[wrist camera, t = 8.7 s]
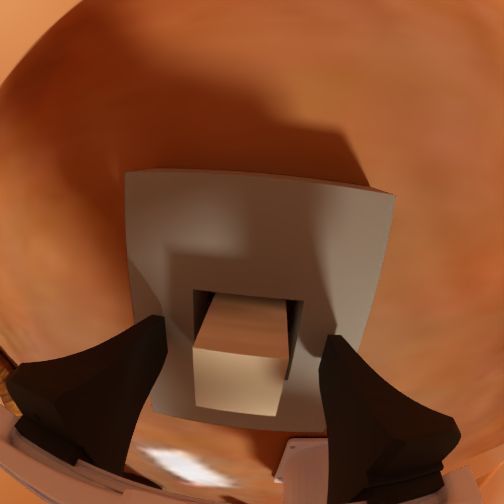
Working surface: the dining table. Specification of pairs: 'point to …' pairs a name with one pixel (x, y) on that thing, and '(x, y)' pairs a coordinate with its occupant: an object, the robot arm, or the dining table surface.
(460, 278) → the dining table surface
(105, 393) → the robot arm
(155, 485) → the coffee mug
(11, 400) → the croissant
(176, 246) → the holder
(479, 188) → the dining table surface
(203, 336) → the peg
